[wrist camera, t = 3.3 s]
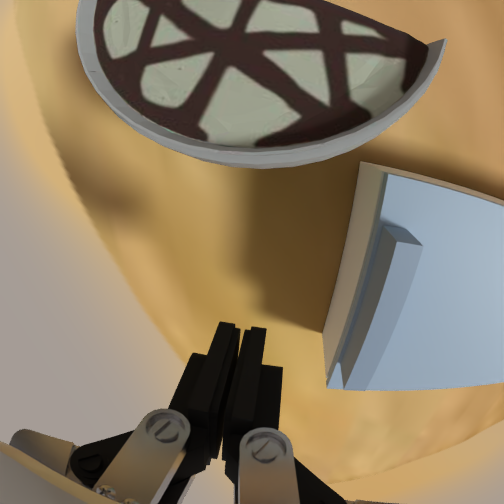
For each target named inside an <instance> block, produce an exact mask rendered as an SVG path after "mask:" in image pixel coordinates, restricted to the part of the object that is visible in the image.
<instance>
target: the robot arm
mask: <svg viewBox="0 0 504 504" xmlns="http://www.w3.org/2000/svg"><path fill="white" fill-rule="evenodd" d="M266 330H267V329H266V328H259V327H251V330H245V332H244V336H243V340H242V344H241V348H240V352H239V341H240V329H239V328H235V324H233V323H227V322H221V321H220V322H219V325H218V327H217V330H216V333H215V335H214V338H213V341H212V343H211V346H210V349H209V351H208V354H207V355H203V354H198V353H192V355H191V357H190V359H189V361H188V363H187V366H186V368H185V370H184V373H183V375H182V377H181V379H180V382H179V384H178V386H177V389H176V391H175V393H174V396H173V398H172V400H171V403H170V405H169V408H168V409H158V410H154V411H152V412H150V413H148V414H147V415H146V416H145V417H144V418H143V420H142V421H141V422H140V424H139V425H138V426H137V428H136V429H135V430H133V431H130V432H127V433H124V434H120V435H117V436H114V437H111V438H107V439H104V440H101V441H97V442H93V443H90V444H86V445H83V446H81V447H80V446H76V445H74V443H73V442H69V441H65V440H61V439H57V438H54V437H50V436H48V435H44V434H41V433H38V432H35V431H32V430H28V429H22V430H19V431H17V432H16V433H15V434H14V435H13V437H12V439H11V441H10V444H9V445H8V444H6V443H4V442H1V441H0V504H181V503H182V501H183V499H184V497H185V496H186V493H187V492H188V490H189V487H190V486H191V484H192V482H193V480H194V478H195V475H196V474H197V473H199V472H202V471H203V470H205V469H206V465H210V461H211V458H213V459H217V458H218V454H219V450H220V446H221V442H222V438H223V445H222V446H223V447H222V460H224V461H226V464H225V474H226V476H227V477H228V478H229V479H230V480H231V481H232V483H233V484H234V504H396V503H383V502H382V503H381V502H372V501H363V500H356V501H348V500H344V499H343V498H342V497H341V496H339V494H337V493H336V492H335V491H333V490H332V489H331V488H330V487H328V486H327V485H326V484H325V483H324V482H322V481H321V480H320V479H319V478H318V477H316V476H315V475H314V474H313V473H312V472H311V471H309V470H308V469H307V468H306V467H305V466H304V465H303V464H301V463H300V462H299V461H298V460H297V459H296V458H295V457H294V456H293V448H292V445H291V442H290V440H289V439H288V437H287V436H286V435H285V434H283V433H282V432H280V431H278V428H279V416H280V403H281V389H282V375H283V367H278V366H270V365H263V364H262V358H263V351H264V344H265V337H266ZM238 352H239V356H238Z"/></svg>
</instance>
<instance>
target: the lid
mask: <svg viewBox="0 0 504 504" xmlns="http://www.w3.org/2000/svg"><path fill="white" fill-rule="evenodd" d="M501 382H504V206H503V205H501V204H498V203H495V202H492V201H489V200H486V199H483V198H480V197H477V196H474V195H470V194H467V193H464V192H461V191H457V190H454V189H450V188H447V187H443V186H440V185H436V184H432V183H428V182H425V181H421V180H417V179H413V178H409V177H404V176H400V175H396V174H391V173H387V172H384V176H383V182H382V188H381V193H380V198H379V203H378V208H377V213H376V217H375V222H374V227H373V231H372V235H371V239H370V244H369V248H368V252H367V256H366V260H365V263H364V267H363V271H362V275H361V278H360V282H359V285H358V289H357V292H356V296H355V299H354V302H353V306H352V309H351V312H350V315H349V318H348V322H347V325H346V328H345V331H344V334H343V337H342V340H341V342H340V345H339V348H338V351H337V354H336V357H335V359H334V362H333V365H332V367H331V370H330V373H329V375H328V378H327V381H326V385H327V388H330V389H344V390H358V391H365V390H380V391H399V390H431V389H447V388H459V387H470V386H478V385H487V384H494V383H501Z"/></svg>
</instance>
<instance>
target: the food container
mask: <svg viewBox="0 0 504 504" xmlns="http://www.w3.org/2000/svg"><path fill="white" fill-rule="evenodd" d="M76 40H77V47H78V53H79V56H80V59H81V62H82V65H83V68H84V71H85V73H86V75H87V77H88V78H89V80H90V82H91V83H92V85H93V87H94V88H95V90H96V92H97V93H98V94H99V95H100V96H101V97H102V99H103V100H104V101H105V102H106V104H107V105H108V106H109V107H110V108H111V109H112V110H113V111H114V113H115V114H116V115H117V116H118V117H119V118H120V119H122V120H123V121H124V122H125V123H127V124H128V125H129V126H131V127H132V128H133V129H134V130H136V131H137V132H138V133H140V134H142V135H144V136H146V137H147V138H149V139H151V140H153V141H155V142H157V143H158V144H160V145H162V146H164V147H167V148H169V149H172V150H174V151H177V152H180V153H182V154H185V155H188V156H191V157H194V158H196V159H199V160H202V161H205V162H211V163H215V164H220V165H225V166H230V167H241V168H256V169H268V168H283V167H295V166H299V165H304V164H309V163H314V162H319V161H323V160H326V159H329V158H332V157H334V156H337V155H340V154H343V153H346V152H348V151H351V150H353V149H355V148H357V147H359V146H360V145H362V144H364V143H366V142H368V141H370V140H372V139H373V138H375V137H377V136H378V135H379V134H381V133H382V132H383V131H385V130H386V129H387V128H388V127H390V126H391V125H392V124H394V123H395V122H396V121H397V120H399V119H400V118H401V117H402V116H403V115H404V114H406V113H407V112H408V111H409V110H410V108H411V107H412V106H413V105H414V104H415V103H416V102H417V101H418V100H419V99H420V97H421V96H422V95H423V94H424V93H425V92H426V90H427V88H428V87H429V85H430V83H431V82H432V80H433V78H434V76H435V75H436V73H437V71H438V69H439V66H440V63H441V60H442V57H443V54H444V51H445V46H446V43H447V39H442V40H438V41H435V42H432V43H430V44H427V45H426V44H424V43H422V42H421V41H419V40H417V39H415V38H413V37H412V36H410V35H409V34H407V33H405V32H402V31H399V30H396V29H394V28H392V27H389V26H387V25H384V24H382V23H380V22H377V21H375V20H373V19H371V18H368V17H366V16H363V15H361V14H358V13H356V12H353V11H351V10H348V9H345V8H343V7H340V6H338V5H335V4H332V3H330V2H327V1H324V0H79V4H78V8H77V15H76Z"/></svg>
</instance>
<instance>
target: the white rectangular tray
mask: <svg viewBox="0 0 504 504" xmlns="http://www.w3.org/2000/svg"><path fill="white" fill-rule="evenodd" d="M384 172H387V173H391V174H396V175H400V176H404V177H409V178H413V179H417V180H421V181H425V182H428V183H432V184H436V185H440V186H443V187H447V188H450V189H454V190H457V191H461V192H464V193H467V194H470V195H474V196H477V197H480V198H483V199H486V200H489V201H492V202H495V203H498V204H501V205H503V206H504V200H501V199H498V198H495V197H493V196H490V195H487V194H484V193H481V192H478V191H475V190H472V189H469V188H466V187H462V186H459V185H456V184H453V183H449V182H446V181H442V180H439V179H435V178H431V177H428V176H424V175H420V174H416V173H412V172H408V171H404V170H400V169H396V168H391V167H387V166H382V165H378V164H373V163H368V162H363V161H360V166H359V172H358V178H357V184H356V190H355V196H354V201H353V207H352V212H351V217H350V222H349V227H348V232H347V237H346V241H345V246H344V250H343V255H342V259H341V264H340V268H339V272H338V276H337V280H336V284H335V288H334V292H333V296H332V300H331V304H330V307H329V311H328V315H327V318H326V322H325V326H324V329H323V333H322V338H323V348H324V359H325V371H326V378H328V375H329V373H330V370H331V367H332V365H333V362H334V359H335V357H336V354H337V351H338V348H339V345H340V342H341V340H342V337H343V334H344V331H345V328H346V325H347V322H348V318H349V315H350V312H351V309H352V306H353V302H354V299H355V296H356V292H357V289H358V285H359V282H360V278H361V275H362V271H363V267H364V263H365V260H366V256H367V252H368V248H369V244H370V239H371V235H372V231H373V227H374V222H375V217H376V213H377V208H378V203H379V198H380V193H381V188H382V182H383V176H384Z"/></svg>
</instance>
